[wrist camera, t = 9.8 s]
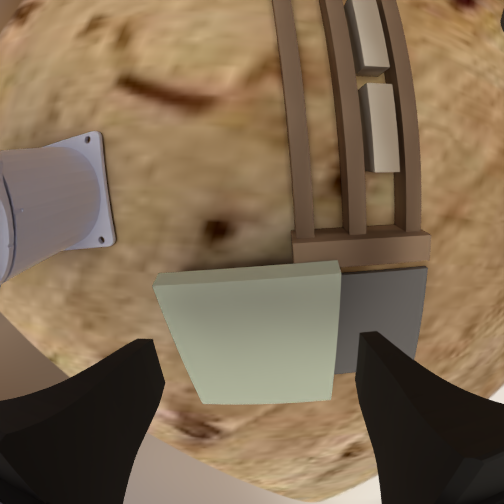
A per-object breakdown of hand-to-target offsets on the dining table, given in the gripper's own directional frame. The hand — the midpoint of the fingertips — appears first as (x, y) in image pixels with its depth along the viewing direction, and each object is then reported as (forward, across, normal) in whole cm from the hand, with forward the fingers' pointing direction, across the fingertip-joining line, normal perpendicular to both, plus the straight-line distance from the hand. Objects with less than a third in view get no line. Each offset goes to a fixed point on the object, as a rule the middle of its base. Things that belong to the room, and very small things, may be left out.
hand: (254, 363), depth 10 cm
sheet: (+8, -4, +5) cm, 10 cm away
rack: (+10, -6, -11) cm, 16 cm away
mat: (+10, -5, +5) cm, 12 cm away
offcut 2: (+11, -7, -8) cm, 15 cm away
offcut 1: (+11, -7, -14) cm, 19 cm away
